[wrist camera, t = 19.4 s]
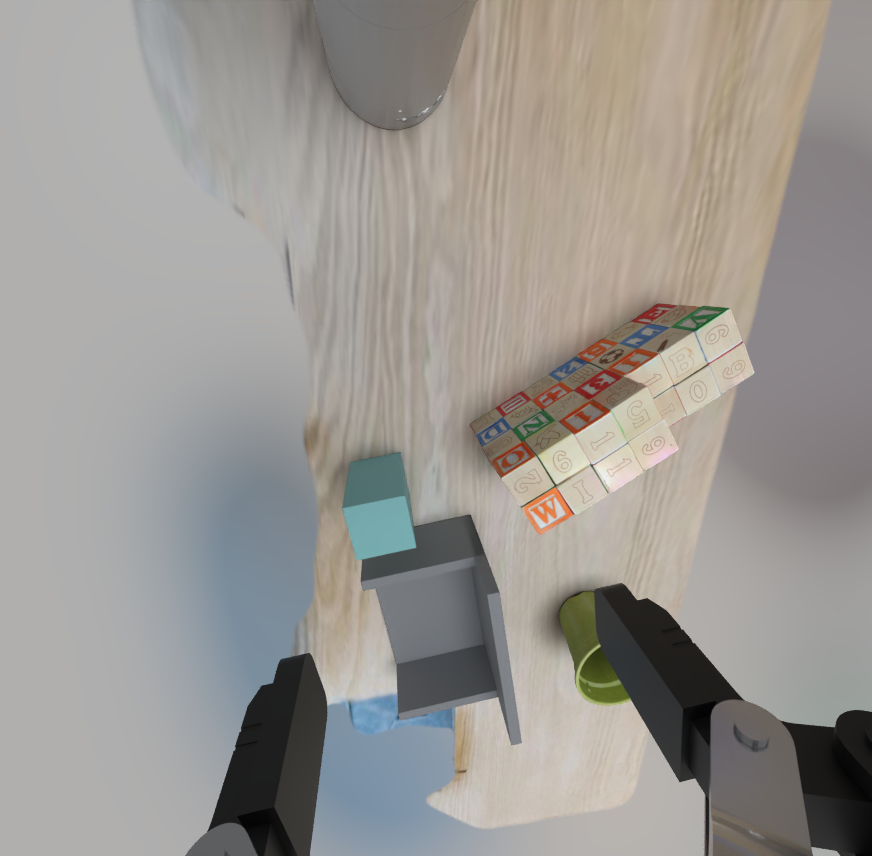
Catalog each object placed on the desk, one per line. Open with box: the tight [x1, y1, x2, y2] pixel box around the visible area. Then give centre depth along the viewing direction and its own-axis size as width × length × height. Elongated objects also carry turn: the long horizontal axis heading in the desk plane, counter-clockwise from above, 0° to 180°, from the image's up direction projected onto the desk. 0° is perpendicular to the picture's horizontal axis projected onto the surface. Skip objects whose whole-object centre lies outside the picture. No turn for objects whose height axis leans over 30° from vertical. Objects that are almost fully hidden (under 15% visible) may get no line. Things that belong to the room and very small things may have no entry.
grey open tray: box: [361, 515, 522, 745], centre depth 43 cm, size 12×18×12 cm, turn 10°
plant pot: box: [559, 591, 631, 706], centre depth 48 cm, size 9×9×9 cm
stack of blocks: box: [470, 304, 754, 535], centre depth 37 cm, size 21×6×12 cm, turn 123°
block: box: [342, 452, 416, 560], centre depth 39 cm, size 5×5×9 cm
